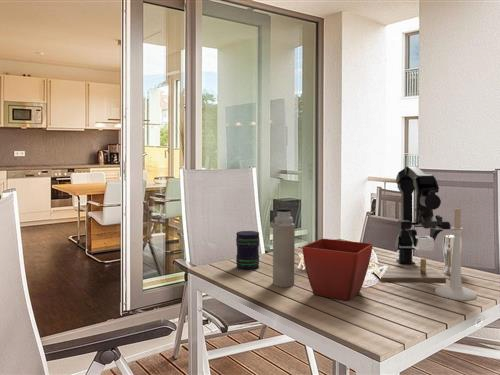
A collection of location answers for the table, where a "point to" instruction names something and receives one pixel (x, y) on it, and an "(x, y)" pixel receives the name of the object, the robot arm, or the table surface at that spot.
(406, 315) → the table surface
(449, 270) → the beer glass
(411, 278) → the board
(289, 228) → the thermos bottle
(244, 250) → the storage jar
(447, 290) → the candlestick
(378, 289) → the table surface
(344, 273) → the plant pot
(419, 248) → the white small box
